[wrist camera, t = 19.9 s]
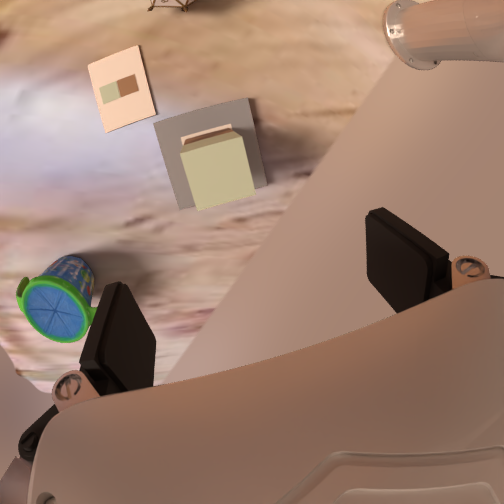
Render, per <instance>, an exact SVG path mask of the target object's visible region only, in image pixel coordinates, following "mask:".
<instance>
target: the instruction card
mask: <svg viewBox="0 0 504 504" xmlns="http://www.w3.org/2000/svg"><path fill="white" fill-rule="evenodd" d="M88 69H89V73H90V77H91V81H92V85H93V89H94V93H95V97H96V101H97V105H98V108H99V112H100V115H101V119H102V122H103V126H104V129H105V132H106V133H107V132H110V131H112V130H115V129H117V128H120V127H122V126H125V125H128V124H130V123H133V122H136V121H139V120H142V119H144V118H147V117H150V116H153V115H156V112H155V108H154V105H153V101H152V97H151V94H150V90H149V86H148V82H147V78H146V74H145V70H144V67H143V63H142V58H141V54H140V50H139V46H138V45H137V46H134V47H131V48H128V49H126V50H123V51H121V52H118V53H115V54H113V55H110V56H108V57H106V58H103V59H101V60H98V61H96V62H94V63H92V64H89V65H88Z"/></svg>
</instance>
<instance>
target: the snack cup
mask: <svg viewBox="0 0 504 504" xmlns="http://www.w3.org/2000/svg"><path fill="white" fill-rule="evenodd" d="M93 289H94V276H93V274H92V271H91V269H90V268H89V266H88V265H87V264H86V263H85V262H84V261H83V260H82V259H81V258H77V257H74V256H65V257H61V258H59V259H58V260H57V261H55V262H54V263H53V264H52V265H51V266H49V267H48V268H47V269H46V270H45V271H44V272H43V273H42V274H41V275H40V276H38V277H35V278H33V279H31V280H30V281H29V278H28V277H24V278H23V279H22V280H21V282H20V284H19V286H18V288H17V291H16V298H17V302H18V305H19V308H20V310H21V311H22V312H23V313H24V314H25V316H26V318H27V320H28V321H29V323H30V324H31V325H32V326H33V327H34V328H35V329H36V330H37V331H38V332H39V333H40V334H42V335H43V336H45V337H47V338H49V339H50V340H53V341H56V342H61V343H71V342H75V341H78V340H80V339H81V338H82V337H83V336H84V335H85V334H86V332H87V330H88V328H89V326H90V325H91V324H92V321H93V318H94V315H95V313H96V310H97V307H96V308H95V307H91V300H92V295H93Z"/></svg>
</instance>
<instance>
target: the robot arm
mask: <svg viewBox="0 0 504 504" xmlns="http://www.w3.org/2000/svg"><path fill="white" fill-rule="evenodd" d="M383 27H384V32H385V35H386V38H387V41H388V43H389V45H390V47H391V48H392V50H393V51H394V53H395V54H396V55H397V56H398V57H399V59H401V60H402V61H403V62H404V63H405V64H407V65H408V66H410V67H412V68H415V69H418V70H430V69H433V68H435V67H436V66H437V65H439V64H440V62H441V60H474V61H493V62H494V61H495V62H504V0H433V1H429V2H425V3H421V4H419V3H417V2H415V1H412V0H397V1H395V2H393V3H391V4H390V5H389V6H388V7H387V8H386V10H385V13H384V18H383ZM365 224H366V251H367V277H368V279H369V281H370V282H371V284H372V285H373V286H374V287H375V288H376V289H377V290H378V292H379V293H380V294H381V295H382V296H383V297H384V299H385V300H386V301H387V302H388V303H389V305H391V307H392V308H393V309H394V310H395V312H396V313H397V314H395V315H392V316H390V317H387V318H385V319H382V320H380V321H377V322H375V323H372V324H370V325H367V326H365V327H362V328H359V329H357V330H354V331H351V332H349V333H346V334H343V335H341V336H338V337H335V338H332V339H329V340H327V341H324V342H321V343H318V344H315V345H312V346H309V347H306V348H303V349H300V350H296V351H293V352H290V353H287V354H284V355H280V356H277V357H274V358H270V359H267V360H263V361H260V362H256V363H253V364H249V365H245V366H241V367H238V368H234V369H230V370H226V371H222V372H218V373H214V374H209V375H205V376H201V377H197V378H192V379H188V380H183V381H178V382H174V383H168V384H163V385H158V386H153V381H154V366H155V353H156V339H155V336H154V334H153V332H152V330H151V329H150V327H149V325H148V323H147V322H146V320H145V318H144V316H143V314H142V312H141V311H140V309H139V307H138V305H137V303H136V301H135V299H134V297H133V295H132V293H131V291H130V289H129V288H128V286H127V285H126V284H122V283H121V282H116V283H113V284H109V285H106V287H105V289H104V291H103V294H102V297H101V299H100V302H99V305H98V307H97V310H96V313H95V315H94V318H93V321H92V324H91V327H90V330H89V333H88V336H87V339H86V342H85V345H84V348H83V351H82V354H81V357H80V361H79V363H80V364H81V367H80V370H79V371H78V370H72V371H69V372H66V373H65V374H63V375H62V376H61V377H60V378H59V379H58V380H57V381H56V382H55V384H54V386H53V389H52V398H53V401H54V403H55V404H54V405H53V406H52V407H51V408H50V409H49V410H48V411H46V412H45V413H44V414H43V415H42V416H41V417H40V418H39V419H38V420H37V421H36V422H34V424H32V425H31V426H30V427H29V428H28V429H27V430H26V431H25V432H24V433H23V434H22V436H21V438H20V440H19V444H18V450H19V454H20V458H17V457H16V456H15V458H14V459H13V461H12V463H11V464H10V466H9V467H8V469H7V471H6V472H5V474H4V476H3V477H2V479H1V480H0V504H504V277H500V276H493V275H490V273H489V268H488V266H487V265H486V264H485V262H483V261H482V260H481V259H479V258H476V257H473V256H459V257H457V258H455V259H454V260H453V261H452V262H451V261H450V260H448V259H449V253H448V252H446V251H445V250H444V249H442V248H441V247H440V246H438V245H437V244H436V243H434V242H433V241H431V240H430V239H429V238H428V237H426V236H425V235H423V234H422V233H421V232H419V231H418V230H416V229H415V228H413V227H412V226H411V225H409V224H408V223H406V222H405V221H403V220H402V219H400V218H399V217H397V216H396V215H394V214H393V213H391V212H390V211H388V210H387V209H385V208H383V207H382V208H378V209H374V210H371V211H369V213H368V215H367V216H366V218H365Z"/></svg>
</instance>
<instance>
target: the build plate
mask: <svg viewBox="0 0 504 504" xmlns="http://www.w3.org/2000/svg"><path fill="white" fill-rule="evenodd" d="M153 124H154V128H155V131H156V135H157V138H158V142H159V145H160V148H161V152H162V155H163V158H164V162H165V165H166V168H167V171H168V175H169V178H170V181H171V184H172V187H173V190H174V194H175V197H176V200H177V203H178V206H179V209H180V210H182V209H185V208H188V207H192V206H195V202H194V199H193V195H192V192H191V189H190V186H189V182H188V179H187V176H186V173H185V169H184V166H183V163H182V159H181V156H180V152H181V149H182V146H183V145H184V142H185V139H188V138H192V137H195V136H199V135H203V134H206V133H210V132H214V131H218V130H222V129H226V128H230V129H231V130H233V131H234V132H236V133H237V134H239V135H240V136H242V138H243V142H244V147H245V151H246V155H247V159H248V163H249V167H250V172H251V176H252V180H253V184H254V189H256V188H260V187H264V186H267V181H266V176H265V172H264V167H263V162H262V158H261V153H260V149H259V144H258V140H257V135H256V131H255V127H254V122H253V118H252V114H251V109H250V105H249V101H248V98H243V99H239V100H235V101H230V102H226V103H222V104H218V105H214V106H210V107H206V108H202V109H199V110H195V111H192V112H188V113H185V114H181V115H178V116H175V117H171V118H168V119H165V120H162V121H159V122H156V123H153Z"/></svg>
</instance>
